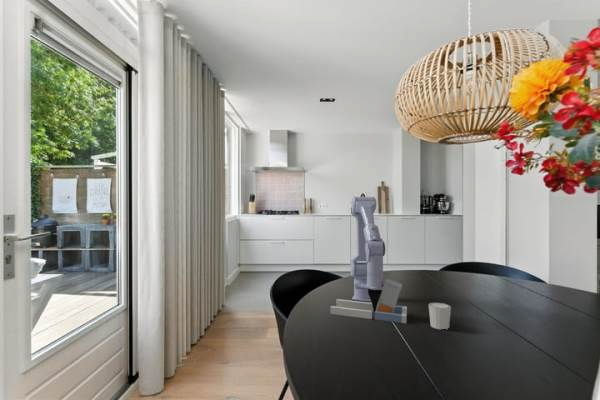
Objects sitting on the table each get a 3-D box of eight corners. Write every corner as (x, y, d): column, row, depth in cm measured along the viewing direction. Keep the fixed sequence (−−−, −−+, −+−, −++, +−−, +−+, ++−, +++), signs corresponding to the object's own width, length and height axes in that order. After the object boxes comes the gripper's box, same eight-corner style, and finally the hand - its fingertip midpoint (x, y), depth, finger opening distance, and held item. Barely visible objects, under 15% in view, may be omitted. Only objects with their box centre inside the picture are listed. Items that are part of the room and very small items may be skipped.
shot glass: (433, 321, 109) (433, 300, 109) (454, 326, 104) (454, 305, 104) (425, 326, 104) (425, 305, 104) (446, 332, 99) (446, 309, 99)
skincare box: (375, 311, 113) (384, 280, 112) (377, 307, 117) (386, 278, 116) (391, 318, 111) (401, 287, 110) (393, 314, 115) (402, 284, 114)
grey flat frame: (337, 305, 125) (337, 299, 125) (406, 313, 116) (406, 306, 116) (330, 313, 115) (330, 307, 115) (406, 323, 106) (406, 316, 106)
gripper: (353, 273, 114) (353, 311, 114) (394, 277, 109) (394, 316, 109) (356, 270, 121) (356, 305, 120) (395, 273, 116) (395, 310, 115)
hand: (374, 310), depth 115 cm, fingers closed
